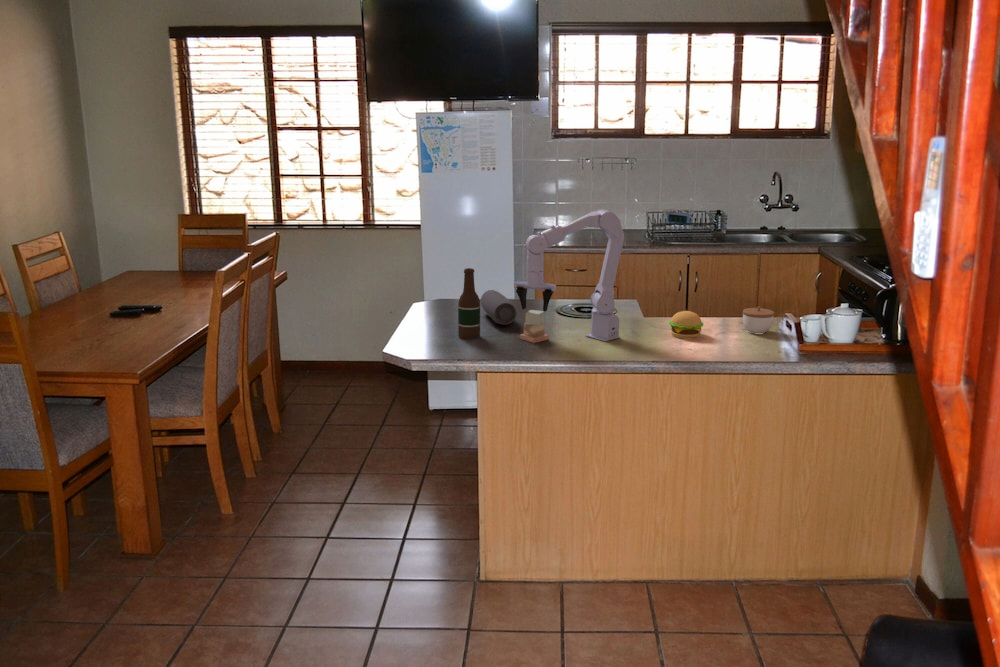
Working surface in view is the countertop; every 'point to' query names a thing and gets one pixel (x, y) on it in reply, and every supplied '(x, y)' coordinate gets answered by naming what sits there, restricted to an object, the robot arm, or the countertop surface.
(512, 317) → the bluetooth speaker
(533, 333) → the maple block
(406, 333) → the countertop surface
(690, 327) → the hamburger
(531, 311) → the sage block
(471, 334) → the beer bottle
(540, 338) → the plinth
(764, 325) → the lidded jar
